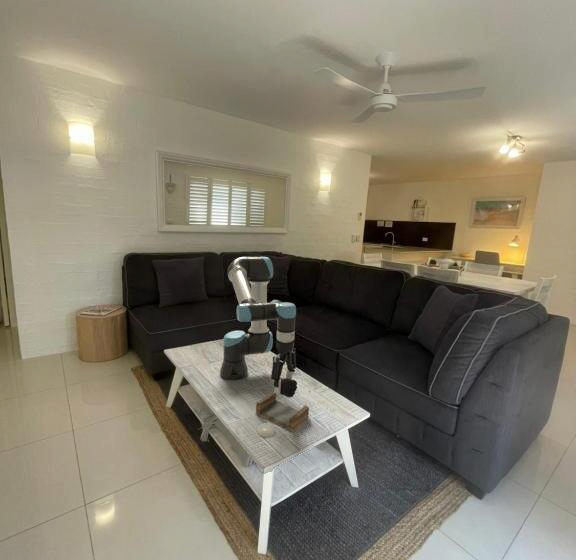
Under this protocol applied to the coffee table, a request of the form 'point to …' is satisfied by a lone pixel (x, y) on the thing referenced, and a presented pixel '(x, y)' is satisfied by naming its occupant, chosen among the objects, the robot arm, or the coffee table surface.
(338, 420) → the coffee table surface
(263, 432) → the cream glossy rounded part
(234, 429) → the coffee table surface
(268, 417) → the rest
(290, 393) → the mineral
